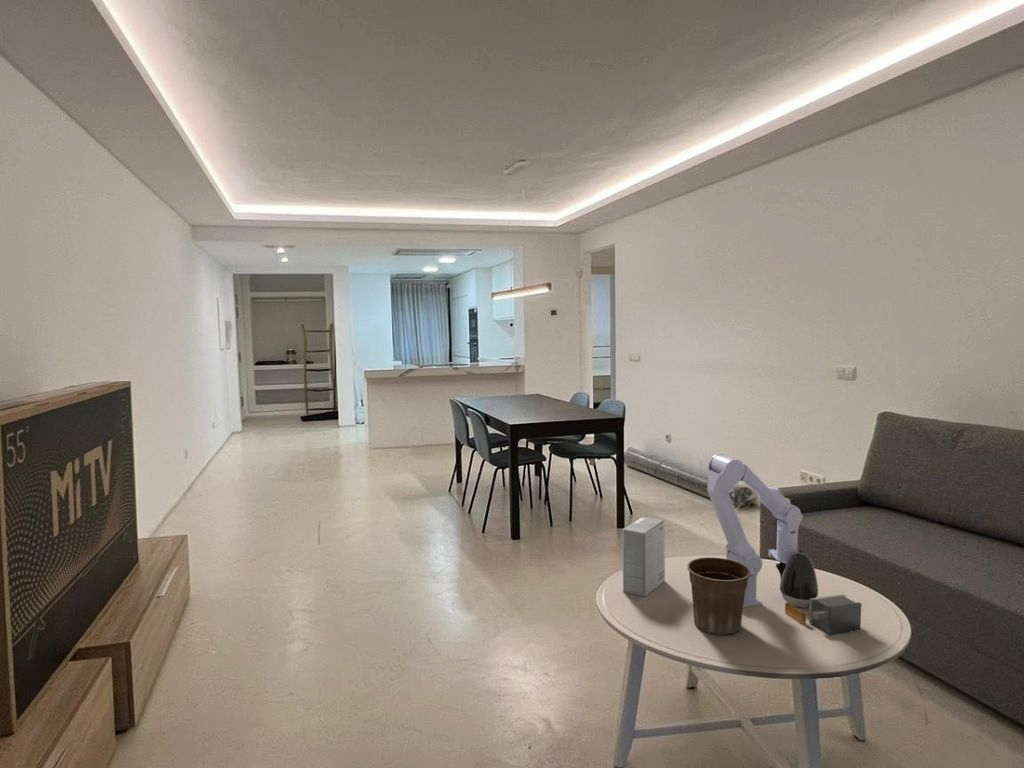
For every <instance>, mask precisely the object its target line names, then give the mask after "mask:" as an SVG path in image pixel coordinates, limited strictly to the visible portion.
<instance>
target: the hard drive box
mask: <svg viewBox="0 0 1024 768" xmlns="http://www.w3.org/2000/svg"><path fill="white" fill-rule="evenodd" d="M665 556H666V555H665V520H664V519H659V518H654V517H649V516H648V517H647V516H642V517H640V518H639V519H638V518H637V520H636V521H634V522H632V523H631V524H629V525H628V526H625V528H623V529H622V592H624V593H627V594H631V595H635V596H640V597H644V598H645V597H646V596H647V595H649V594H650V593H651V592H652V591H653V590H655V589H656V588H657V587H658V586H660V585H661V584H662V583H663V582H665V580H666V579H665V578H666V577H665V576H666V571H665V570H666V569H665V568H666V567H665V566H666V565H665V563H666V562H665V559H666V558H665Z"/></svg>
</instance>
